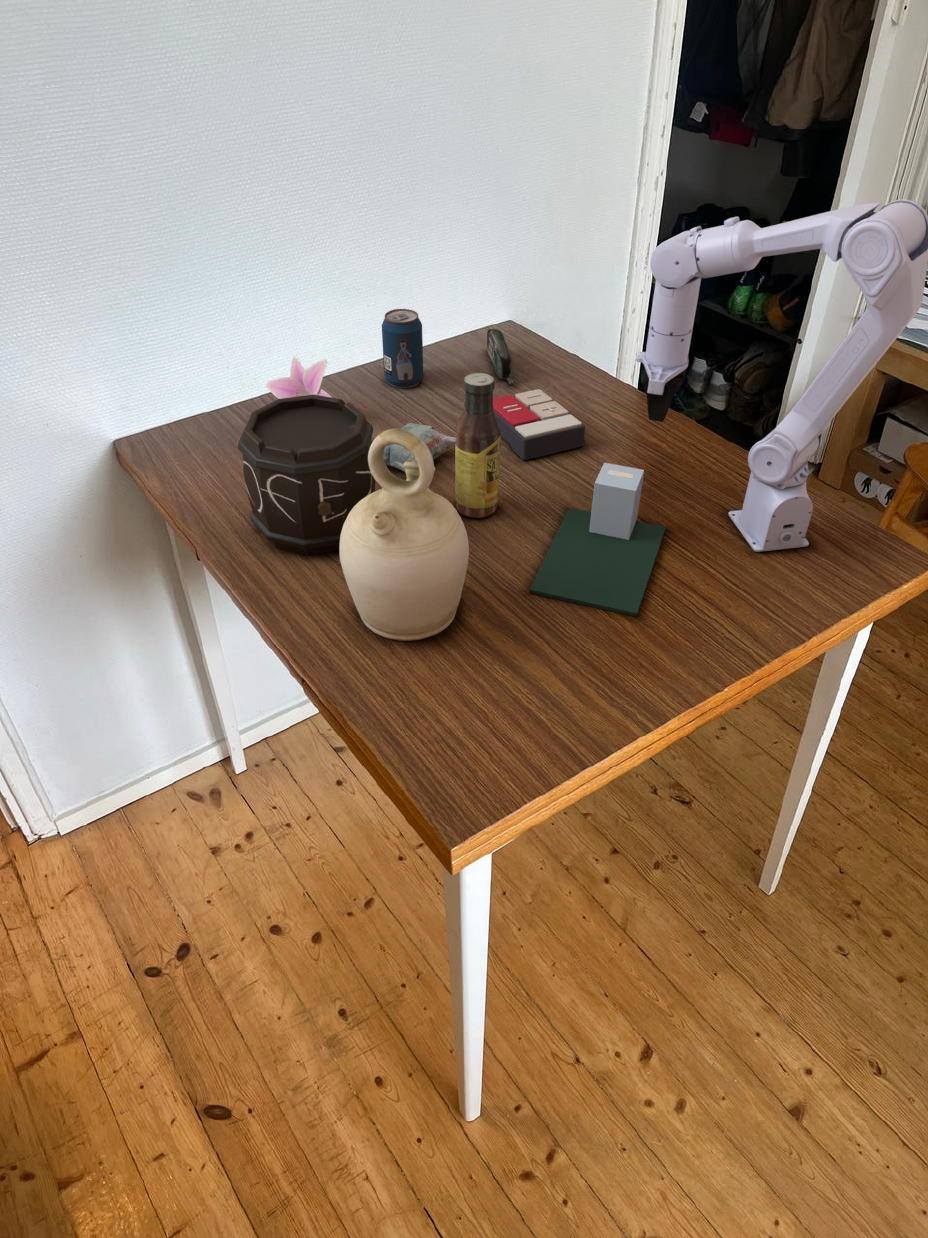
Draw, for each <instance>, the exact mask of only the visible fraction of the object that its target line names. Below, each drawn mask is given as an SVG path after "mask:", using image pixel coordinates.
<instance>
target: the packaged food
mask: <svg viewBox="0 0 928 1238" xmlns="http://www.w3.org/2000/svg"><path fill="white" fill-rule="evenodd" d="M400 429H404V430H407V431H410V432H412V433H413V434H415V435H416V436H418V437H419V438H420V439H421V440H422V441H423V442H424V443H425V444H426V446H427V447H428V449H429V451H430V453H431V455H432V459H433V461H434V460H435V459H437V458H438V457H439V456H440V455H442V454H444V453H446V452H447V451H449V450H450V449H451V448H452V447H453V446H455V442H456V436H449V435H446V434H443V433H441V432H440V431H437V430H435V428H434V426H431V425H426V424H420V423H413V422H407V423H406V424H405V425H404V426H402V427H401V428H400ZM383 458H384V462H385V465H386V466H388V467H393V468H394V469H397V470H401V471H402V472H404V473H406V470H405V467H404V463H405V462H413V463H417V461H416V459H415V457H414V456H413V455H412V454H411V453H410V452H409V451H408V450H407V449H406V448H404V447H402V446H400V445H397V444H391V445H387V446H386V447H385V449H384V453H383Z"/></svg>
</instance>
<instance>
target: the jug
mask: <svg viewBox="0 0 928 1238" xmlns="http://www.w3.org/2000/svg"><path fill="white" fill-rule="evenodd" d="M391 444H397V445H400V446H402V447H404V448H406V449H407V450H408V451H409V452H410V453H411V454H412V455H413V456H414V457H415V459H416V461H417V463H413V462H405V463H404V467H405V470H406V472H405V476H406V479H401V478H400V477H397V476H396V475H394V474H393V473H392V472H391V471H390V470H389V468H388V467H387V465H385V462H384V458H383V453H384V449H385V447H386V446H387V445H391ZM434 463H435V462H434V460H433V459H432V455H431V453H430V451H429V449H428V447H427V446H426V444H425V443H424V442H423V441H422V440H421V439H420V438H419V437H418V436H416V435H415V434H413V433H412V432H410V431H407V430H404V429H401V428H389V429H387V430H384V431H382V432H381V433H379V434H378V435H377V436H376V437H375V438H374V440H372V444H371V446H370V449H369V453H368V464H369V468H370V471H371V473H372V475H373V477H374V479H375V482H376V483H377V484H378V485H379V486H380V487H381V488H380V489H377V490H375V492H373V493H371V494H370V495H368V496H366V497H365V498H363V499H362V500H361V501H359V502H358V503H357V504H356V505H355V506H354V507H353V509H352V510H351V511H350V513H349V514H348V516H347V519H346V520H345V523H344V525H343V528H342V531H341V536H340V550H339V562H340V566H341V569H342V573H343V576H344V579H345V582H346V585H347V588H348V590H349V592H350V593H349V594H350V596H351V598H352V601H353V603H354V606H355V609H356V611H357V613H358V614H359V616H360V619H361V621H362V622H363V624H364V625H365V626H366V627H367V628H368V629H369V630H370V631H371V632H372V633H374V634H376V635H378V636H380V637H382V638H384V639H389V640H392V641H393V640H394V641H401V642H402V641H403V642H413V641H420V640H425V639H427V638H431V637H433V636H436V635H437V634H440V633H441V632H443V631H444V630H445V629H447V628H448V627H449V626H450V625H451V624H452V622H453V621H454V619H455V617H456V613H457V610H458V606H459V604H460V601H461V597H462V593H463V588H464V583H465V580H466V574H467V570H468V565H469V557H470V545H469V538H468V532H467V529H466V526H465V524H464V521H463V520H462V517H461V516H460V513H459V511H458V510H457V508H456V507H454V505H453V504H452V503H451V502H450V501H449V500H448V499H446V498H445V497H443V496H442V495H440V494H438V493H435V492H434V491H432V490H431V489H430V488H429V487H430V485H431V484H432V481H433V479H434V474H435V471H436V467H435V464H434Z"/></svg>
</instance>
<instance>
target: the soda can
mask: <svg viewBox="0 0 928 1238" xmlns="http://www.w3.org/2000/svg"><path fill="white" fill-rule="evenodd" d="M418 313H419V312H417V311H415V310H413V309H408V308H394V309H391V310H388V311H387V312H385V314H384V319H383V321H382V323H381V341H382V361H383V376H384V378H385V380H386V381H387V383H388V384H389V385H390V386H392V387H394V388H399V389H409V388H413V387H415V386H417V385H418V384H420V382H421V381H422V378H423V377H424V348H423V346H424V345H423V344H424V343H423V323H422V322H421V320H420V317H419V314H418Z"/></svg>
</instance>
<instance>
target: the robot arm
mask: <svg viewBox="0 0 928 1238" xmlns="http://www.w3.org/2000/svg"><path fill="white" fill-rule="evenodd" d="M882 204H883V202H869V203H864V204H859V205H852V206H847V207H842V208H838V209H834V210H829V211H825V212H821V213H817V214H813V215H810V216H805V217H802V218H801V217H800V218H798V219H797V218H796V219H793V220H790V221H786V222H782V223H777V224H775V225H774V224H773V225H769V226H766V227H760V226H759V225H758V224H756V223H755V222H754V221H752V220H749V219H745V220H740V217H739V216H734V217H729V218H727V219H725V220H724V221H723V224H722V225H718V226H713V227H709V228H708V227H707V228H704V229H702V226H701V225H698V226H695V227H692V228H691V229H689V230H685V231H682V232H680V233H679V234H676V235H674V236H672V237H671V238H668V239H667V240H664V241H662V242H661V243H660V244H659V245H657V246H656V247H655V248H654V249H653V252H652V253H651V257H650V263H649V265H650V272H651V274H652V276H653V277H654V279H655V283H654V289H653V290H654V293H653V297H652V304H651V305H652V306H651V311H650V312H651V313H650V319H649V326H648V327H649V328H648V333H647V341H646V348H645V351H638V352H637V354H636V357H635V361H636V362H637V363H642V364H643V367H644V369H643V371H642V373H641V375H640V376H641V377H640V380H641V381H640V382H641V384H642V387H643V388H644V392H645V396H646V404H647V417H648V420H649V421H653V422H660V423H663V422H664V421H665V419H666V417H667V414H668V411H669V409H670V406H671V403H672V400H673V398H674V396H675V394H676V393H677V391H678V390H679V389H680V387H681V386H682V385H683V382H684V379H685V376H686V373H687V368H688V367H689V361H690V360H689V352H690V347H691V340H692V335H693V328H694V323H695V317H696V313H697V312H696V311H697V306H698V300H699V294H700V287H701V282H702V279H708V278H714V277H719V276H724V275H725V276H726V275H731V274H736V273H742V272H748V271H751V270H754V269H755V268H756V267H757V265H758V264H759V263H760V261H761V259H762V258H764V257H771V256H779V255H785V254H793V253H801V252H806V251H807V252H808V251H813V250H822V251H823V252H824V254H826V255H827V256H828V258H830V260H831V261H833V262H835V263H837V262H839V261H840V260H841V259H842V263H843V264H844V267H845V268H846V270H847V271H848V273H849V274H850V276H851V278H852V280H853V281H854V282H855V284H856V285H857V287H858V288H859V290H860V291H861V293H862V294H863V297H864V301H865V304H866V305H865V306H866V310H865V311H864V312H863V314H862V315H861V316H860V317H859V319H858V320H857V322H856V323H855V324H854V325H853V327H852V329H851V330H850V331H849V332H848V334H847V335H846V336H845V338H844V339H843V341H842V342H841V343H840V344H839V346H838V347H837V349H836V350H835V351H834V353H833V354H832V355H831V356H830V358H829V360H827V362H826V364H825V365H824V366H823V368H822V369H821V370H820V371H819V373H818V374H817V376H816V377H815V378H814V380H813V381H812V382H811V383H810V385H809V386H808V388H807V389H806V390H805V392H803V394H802V396H801V397H800V399H798V401H797V402H796V404H795V405H794V406H793V408H792V409H791V410H790V411H789V412H788V414H786V416H785V417H784V418H783V419H782V421H781V422H780V423H779V424H777V426H775V428H773V429H772V430H771V431H770V432H769V433H767V435H766V436H764V437H763V438H762V439H761V440H759V441H757V442H755V444H754V445H752V447H751V448H750V449H749V452H748V455H747V464H748V468H749V470H750V475H749V479H748V483H747V487H746V492H745V496H744V500H743V504H742V509H740V510H731V511H730V510H729V512H728V514H727V515H728V517H729V518H730V520H731V521H732V522H733V524H734V525H735V526H736V528H737V530H738V531H739V532H740V534H741V535H742V536H743V538H744V539H745V541H746V542H747V544H748V545H749V546H750V548H751V549H752V550H753V551H754V552H757V553H760V552H761V553H762V552H770V551H777V550H778V551H779V550H787V549H796V548H797V549H798V548H805V547H808V546H809V544H810V542H809V541H808V539H807V538H806V536H807V533H808V528H809V526H810V522H811V518H812V515H813V513H814V512H813V511H814V505H813V502H812V500H811V498H810V496H809V494H808V490H807V480H808V476H809V465H808V462H809V459H811V458H812V457H815V456H816V454H817V453H818V452H820V449H821V446H822V443H823V437H824V434H825V432H826V431H827V429H829V427H830V426H831V421H832V420H833V419H834V418H835V416H836V415H837V414H838V412H839V411H840V410H841V409H842V407H843V406H844V405H845V404H846V402H847V401H848V400H849V399H850V397H852V395H853V394H854V392H855V391H856V390H857V389H858V388H859V386H860V385H861V384H862V382H863V381H864V380H865V379H866V377H867V376H868V375H869V374H870V372H871V371H872V370H873V368H874V367H875V366H876V365H877V364H878V362H879V361H880V360H881V358H882V357H883V356H884V355H885V354H886V352H887V351H888V350H889V348H890V347H891V346H892V345H893V344H894V343H895V341H896V340H897V338H898V337H899V336H900V335H901V334H902V332H903V331H904V330H905V329H906V328H907V326H908V325H909V324H910V322H911V321H912V320H913V318H915V316H916V315H917V314H918V312H919V310H920V308H921V307H922V305H923V299H924V291H925V285H926V277H927V271H928V213H927V211H926V209H924V207H923V206H922V205H920V204H919V203H918V202H916V201H913V200H910V199H903V198H902V199H895V200H892V201H889V202H887V203H886V204H885V205H883V206H882V207H881V208H880V209H879V210H878V211H875V210H876V209H877V208H878V207H879V206H881V205H882Z"/></svg>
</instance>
